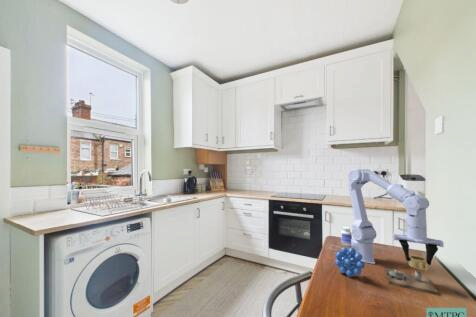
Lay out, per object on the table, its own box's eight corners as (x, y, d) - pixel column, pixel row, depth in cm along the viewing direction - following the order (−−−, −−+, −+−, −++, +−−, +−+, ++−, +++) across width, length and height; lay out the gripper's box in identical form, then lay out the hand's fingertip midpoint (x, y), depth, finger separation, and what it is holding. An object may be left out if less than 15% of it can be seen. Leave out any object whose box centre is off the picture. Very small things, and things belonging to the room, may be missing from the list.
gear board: (388, 283, 77) (388, 271, 78) (384, 270, 88) (384, 259, 88) (438, 295, 71) (437, 282, 71) (427, 279, 81) (426, 267, 81)
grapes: (369, 279, 80) (368, 248, 81) (362, 285, 76) (361, 252, 77) (339, 267, 90) (339, 240, 90) (332, 272, 85) (331, 243, 86)
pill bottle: (353, 246, 115) (353, 229, 115) (343, 245, 116) (342, 228, 116) (350, 243, 120) (349, 226, 120) (340, 242, 121) (340, 226, 122)
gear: (410, 268, 76) (410, 260, 76) (406, 260, 83) (406, 253, 83) (430, 272, 74) (430, 263, 74) (424, 264, 80) (424, 256, 80)
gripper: (395, 225, 79) (396, 261, 78) (446, 232, 72) (447, 271, 71) (392, 221, 85) (393, 254, 84) (438, 227, 78) (440, 263, 77)
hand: (417, 261), depth 78 cm, fingers closed on gear, 6 cm apart
